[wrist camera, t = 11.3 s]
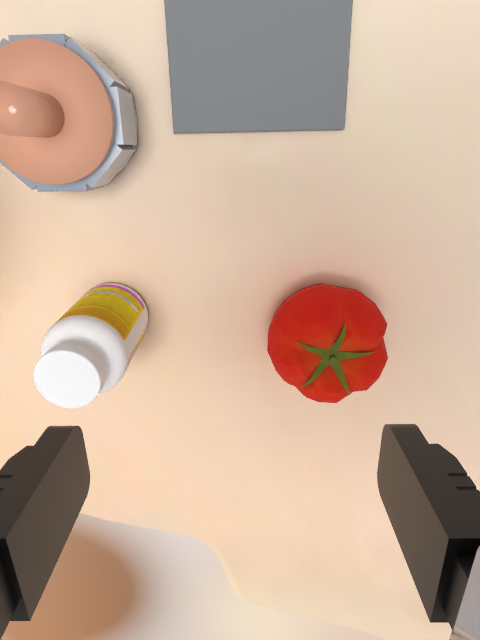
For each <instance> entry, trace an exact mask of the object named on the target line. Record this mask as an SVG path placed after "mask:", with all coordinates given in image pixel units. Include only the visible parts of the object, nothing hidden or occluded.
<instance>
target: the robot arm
mask: <svg viewBox="0 0 480 640" xmlns="http://www.w3.org/2000/svg"><path fill="white" fill-rule="evenodd" d="M377 479H378V488H379V492H380V496H381V499H382V501H383V504H384V506H385V509H386V511H387V514H388V516H389V519H390V521H391V524H392V527H393V529H394V532H395V534H396V537H397V539H398V542H399V544H400V547H401V549H402V552H403V554H404V557H405V560H406V562H407V565H408V567H409V570H410V572H411V575H412V577H413V580H414V582H415V585H416V587H417V590H418V593H419V595H420V598H421V600H422V603H423V605H424V608H425V610H426V613H427V615H428V618H429V620H430V622H449V624H450V626H451V628H452V633H451V636H450V639H449V640H480V491H479V490H477V489H476V486H475V484H474V483H473V481H472V480H471V478H470V477H469V476H467V473H466V471H465V470H464V468H463V467H462V465H461V464H460V462H459V461H458V460H457V458H456V457H455V456H454V455H452V454H451V453H450V452H448V451H447V450H446V449H444V448H443V447H442V446H441V445H439V444H428V442H427V440H426V439H425V437H424V436H423V434H422V433H421V431H420V429H419V428H418V426H417V425H415V424H386V425H385V426H384V428H383V432H382V440H381V448H380V455H379V463H378V472H377ZM89 484H90V471H89V465H88V460H87V454H86V449H85V444H84V438H83V433H82V430H81V428H80V427H79V426H49V427H48V428H47V429H46V430H45V431H44V433H43V434H42V436H41V437H40V438H39V440H38V441H37V443H36V444H35V445H34V446H26V447H25V448H23V449H22V450H21V451H19V452H18V453H17V454H15V455H14V456H12V457H11V458H10V459H9V460H8V461H7V462H6V463H5V465H4V466H3V467H2V469H1V470H0V640H2V638H1V637H2V635H3V633H4V631H5V629H6V627H7V625H8V623H9V621H30V620H31V617H32V615H33V613H34V611H35V609H36V607H37V604H38V602H39V600H40V598H41V595H42V593H43V591H44V589H45V587H46V585H47V582H48V580H49V578H50V576H51V574H52V571H53V569H54V567H55V565H56V562H57V561H58V558H59V556H60V554H61V552H62V549H63V547H64V545H65V543H66V541H67V539H68V536H69V534H70V532H71V530H72V528H73V525H74V523H75V521H76V519H77V517H78V514H79V512H80V510H81V508H82V506H83V504H84V501H85V499H86V497H87V494H88V490H89Z"/></svg>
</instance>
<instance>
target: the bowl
mask: <svg viewBox="0 0 480 640" xmlns="http://www.w3.org/2000/svg"><path fill="white" fill-rule="evenodd" d="M8 37H9V41H8V40H6V39H4V38H3V39H2V41H1V42H0V48H1V47H2V46H4V45H6V44H8V43H10V42H12V41H15V40H19V39H25V38H40V39H45V40H49V41H52V42H55V43H58V44H60V45H62V46H64V47H66V48H68V49H70V50H71V51H73V52H74V53H76V54H77V55H79V56H80V57H82V58H83V59H84V60H85V61H86V62H88V63H89V64H90V65H91V66H92V68H93V69H94V70H95V71H96V72H97V74H98V75H99V76H100V78H101V79H102V81H103V83H104V84H105V86H106V88H107V90H108V93H109V95H110V98H111V101H112V104H113V109H114V114H115V134H114V139H113V143H112V146H111V149H110V151H109V154H108V156H107V157H106V159H105V160H104V162H103V163H102V164H101V166H100V167H99V168H98V169H97V170H96V171H94V172H93V173H92V174H90V175H89V176H87V177H86V178H83V179H81V180H79V181H75V182H71V183H66V184H58V185H53V184H43V183H39V182H35V181H32V180H30V179H27V178H25V177H23V176H21V175H20V174H18V173H16V172H15V171H13V170H12V169H11V168H9V167H8V166H7V165H6V164H5V163H4V162H3V161H2V160H1V159H0V163H1V164H3V165H4V166H5V167H6V168H7V169H9V170H10V171H11V172H12V173H13V174H14V175H16V176H17V177H18V178H19V179H20V180H21V181H23V182H24V183H25V184H26V185H27V186H28V187H30V188H31V189H32V190H34V189H37V190H38V192H53V191H88V190H92V189H95V188H99V187H102V186H104V185H107V184H109V183H110V182H111V180H112V179H113V178H114V177H115V176H116V175H117V174H118V173H120V172H121V171H122V169H123V168H124V167H125V166H126V165H127V163H128V162H129V160H130V158H131V156H132V154H133V153H134V152H135V151H136V150H135V146H136V145H137V135H138V120H137V114H136V110H135V106H134V103H133V97H132V94H131V93H129V92H128V91H129V88H128V87H127V86H126V85H125V84H124V83H123V82H122V81H121V79H120V78H119V77H118V76H117V75H116V74H115V73H114V72H113V71H112V70H111V69H110V68H109V67H108V66H106V65H105V64H104V63H103V62H102V61H101V60H100V59H99V58H98V57H97V56H96V55H95V54H94V53H93V52H92V51H91V50H89V49H88V48H86V47H85V46H83V45H82V44H80V43H79V42H77V41H76V40H74V39H73V38H71V37H68V36H66V35H65V34H41V35H8Z"/></svg>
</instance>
